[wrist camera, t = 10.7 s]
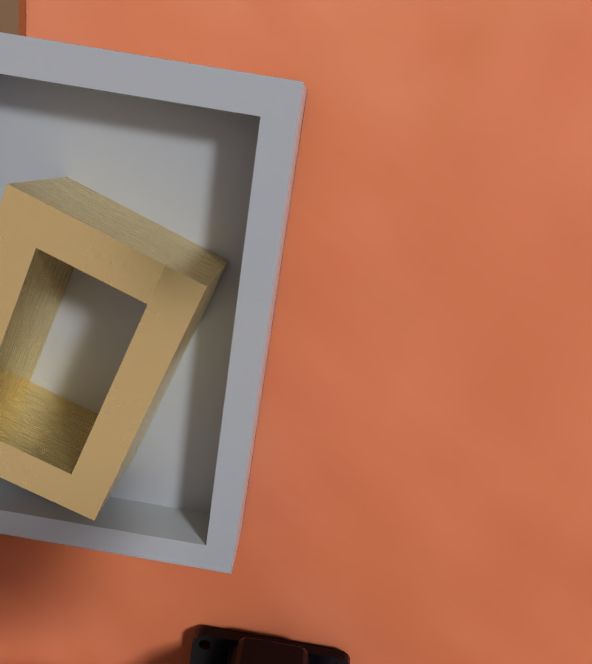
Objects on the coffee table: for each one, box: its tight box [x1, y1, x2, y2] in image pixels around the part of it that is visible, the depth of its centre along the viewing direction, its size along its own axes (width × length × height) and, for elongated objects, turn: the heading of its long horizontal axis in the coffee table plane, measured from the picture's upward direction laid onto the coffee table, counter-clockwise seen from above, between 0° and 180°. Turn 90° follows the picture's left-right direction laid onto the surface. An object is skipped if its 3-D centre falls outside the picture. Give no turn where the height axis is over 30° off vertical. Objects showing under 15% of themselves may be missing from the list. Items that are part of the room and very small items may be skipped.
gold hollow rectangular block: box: [0, 177, 229, 521], centre depth 18 cm, size 10×6×3 cm, turn 153°
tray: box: [0, 32, 307, 573], centre depth 18 cm, size 16×11×2 cm
